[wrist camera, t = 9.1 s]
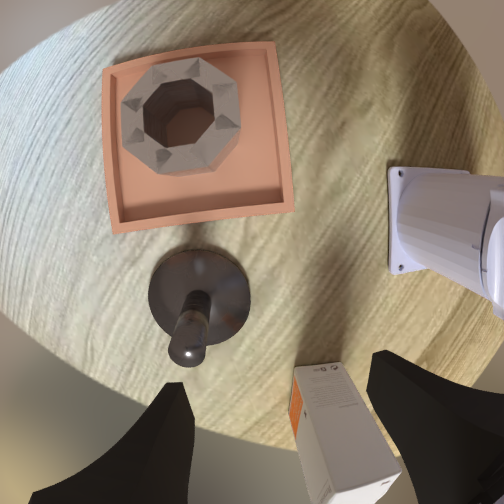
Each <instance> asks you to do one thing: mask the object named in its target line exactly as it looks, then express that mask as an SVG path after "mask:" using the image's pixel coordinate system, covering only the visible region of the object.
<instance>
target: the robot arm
mask: <svg viewBox="0 0 504 504" xmlns="http://www.w3.org/2000/svg"><path fill="white" fill-rule="evenodd" d="M399 171H400V172H401V176H399V174H398V172H399ZM388 188H389V221H390V235H389V272H390V273H392V274H393V275H396V274H402V273H407V272H412V271H417V270H422V269H427V268H429V269H431V270H433V271H435V272H437V273H439V274H441V275H443V276H445V277H447V278H449V279H451V280H453V281H454V282H456V283H458V284H460V285H462V286H464V287H466V288H468V289H470V290H471V291H473V292H475V293H477V294H479V295H481V296H482V297H484V298H486V299H488V300H490V301H491V302H492V304H493V314H494V315H496V316H498V317H499V318H501V319H503V320H504V177H501V176H488V175H473V174H470V173H469V171H465V170H453V169H440V168H423V167H390V168H389V169H388ZM400 265H401V268H400V269H399V266H400ZM366 391H367V394H368V396H369V399H370V401H371V404H372V406H373V408H374V410H375V412H376V414H377V415H378V417H379V419H380V420H381V422H382V424H383V425H384V427H385V429H386V430H387V432H388V433H389V435H390V437H391V438H392V440H393V442H394V443H395V445H396V447H397V448H398V450H399V452H400V454H401V456H402V458H403V460H404V463H405V465H406V468H407V470H408V472H409V475H410V478H411V481H412V483H413V486H414V489H415V493H416V496H417V499H418V503H419V504H504V394H499V393H493V392H487V391H482V390H478V389H473V388H470V387H467V386H463V385H460V384H457V383H455V382H452V381H449V380H447V379H445V378H442V377H440V376H438V375H435V374H433V373H431V372H429V371H427V370H425V369H423V368H421V367H419V366H417V365H415V364H413V363H411V362H409V361H408V360H406V359H404V358H402V357H400V356H398V355H396V354H394V353H392V352H390V351H388V350H383V351H379V352H376V353H373V355H372V361H371V368H370V373H369V379H368V384H367V389H366ZM194 434H195V418H194V415H193V412H192V409H191V406H190V403H189V401H188V398H187V395H186V392H185V389H184V386H183V382H174V383H166V384H165V385H164V387H163V388H162V389H161V391H160V392H159V393H158V395H157V396H156V397H155V399H154V400H153V401H152V403H151V404H150V405H149V407H148V408H147V409H146V410H145V412H144V413H143V414H142V416H141V417H140V418H139V419H138V420H137V422H136V423H135V424H134V425H133V426H132V427H131V428H130V429H129V431H128V432H127V433H126V434H125V435H124V436H123V437H122V438H121V439H120V440H119V441H118V442H117V443H116V444H115V445H114V446H113V447H112V448H111V449H109V450H108V451H107V452H106V453H105V454H104V455H102V456H101V457H100V458H99V459H97V460H96V461H94V462H93V463H92V464H90V465H89V466H88V467H86V468H84V469H83V470H81V471H80V472H78V473H77V474H75V475H73V476H71V477H69V478H67V479H65V480H63V481H61V482H59V483H57V484H55V485H52V486H50V487H47V488H44V489H42V490H39V491H36V492H33V494H32V496H31V498H30V501H29V503H28V504H187V503H188V502H187V495H188V483H189V475H190V468H191V461H192V455H193V447H194V436H195V435H194Z"/></svg>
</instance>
